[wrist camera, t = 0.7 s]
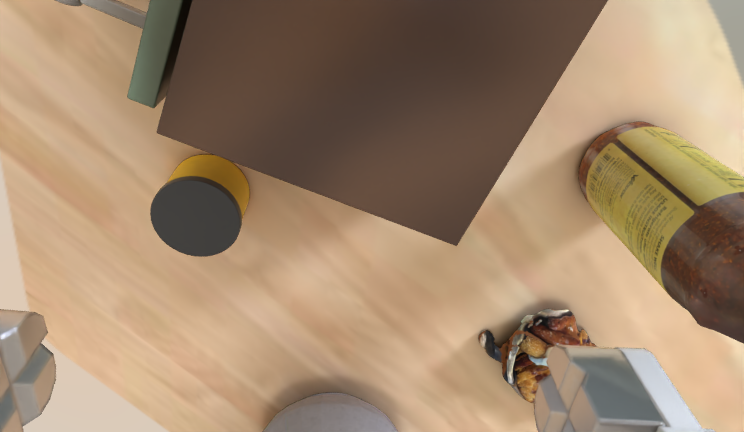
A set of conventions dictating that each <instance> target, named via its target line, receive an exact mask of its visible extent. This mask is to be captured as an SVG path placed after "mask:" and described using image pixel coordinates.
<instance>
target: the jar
mask: <svg viewBox="0 0 744 432" xmlns="http://www.w3.org/2000/svg"><path fill="white" fill-rule="evenodd" d="M249 195H250V192H249V185H248V182H247V180H246V178H245V176H244V175H243V173H242V172H241V171H240V169H239V168H238V167H237V166H236V165H234V164H233V163H232V162H230V161H228V160H226V159H224V158H222V157H219V156H215V155H197V156H193V157H190V158H188V159H186V160H185V161H183V162H182V163H181V164H180V165H179V166H178V167H177V168H176V170H175V171H174V173H173V174H172V176H171V177H170V178H169V180H168V181H167V183H166V184H165V185H164V186H163V187H162V188H161V189H160V190H159V191H158V193H157V194H156V196H155V198H154V199H153V202H152V205H151V213H150V214H151V221H152V224H153V227H154V229H155V231H156V232H157V234H158V235H159V237H160V238H161V239H162V240H163V241H164V242H165V243H166V244H167V245H169V246H170V247H172V248H173V249H175V250H177V251H179V252H181V253H184V254H187V255H192V256H201V257H202V256H212V255H215V254H218V253H221V252H223V251H224V250H226V249H228V248H229V247H230V246H231V245H232V244H233V243H234V242H235V240H236V239H237V237H238V235H239V232H240V229H241V225H242V218H243V215H244V213H245V210H246V207H247V204H248V201H249Z"/></svg>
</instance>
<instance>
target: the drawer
mask: <svg viewBox="0 0 744 432" xmlns="http://www.w3.org/2000/svg"><path fill="white" fill-rule="evenodd" d="M55 1H58V2H60V3H63V4H66V5H71V6H81V5H82V4H85V5H87V6H89V7H92V8H94V9H97V10H99V11H101V12H104V13H106V14H109V15H111V16H113V17H116V18H118V19H121V20H123V21H125V22H128V23H130V24H133V25H135V26H137V27H140V28H142V29H143V32H142V36H141V40H140V45H139V49H138V53H137V57H136V62H135V66H134V70H133V74H132V79H131V83H130V87H129V91H128V95H127V97H128V98H129V99H131V100H134V101H136V102H139V103H141V104H144V105H147V106H149V107H152V108H155V107H156V106H157V105H158V104H159V103H160V102H161V101H162V99H163V98H164V97H165V96H166V95H167V92H168V88H169V84H170V81H171V77H172V73H173V70H174V66H175V62H176V58H177V55H178V51H179V47H180V44H181V40H182V36H183V33H184V29H185V25H186V22H187V18H188V14H189V11H190V7H191V3H192V0H150V2H149V7H148V11H147V13H146V12H143V11H141V10H139V9H136V8H134V7H132V6H129V5H127V4H124V3H122V2H120V1H117V0H55Z"/></svg>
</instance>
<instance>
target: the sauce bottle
mask: <svg viewBox="0 0 744 432" xmlns="http://www.w3.org/2000/svg"><path fill="white" fill-rule="evenodd" d="M579 181H580V186H581V189H582V192H583V194H584V196H585V198H586V200H587V201H588V202H589V203H590V205H591V207H592V209H593V210H594V211H595V213H596V214H597V215H598V216H599V217H600V218H601V219H602V220H603V221H604V223H605V224H606V225H607V226H608V227H609V228H610V229H611V231H612V232H613V233H614V234H615V235H616V236H617V237H618V238H619V239H620V240H621V241H622V243H623V244H624V245H625V246H626V247H627V248H628V249H629V250H630V251H631V253H632V254H633V255H634V256H635V257H636V258H637V259H638V261H639V262H640V263H641V264H642V265H643V266H644V267H645V268H646V270H647V271H648V272H649V273H650V274H651V275H652V276H653V277H654V279H655V280H656V281H657V282H658V283H659V284H660V285H661V286H662V287H663V289H664V290H665V291H666V292H667V293H668V294H669V295H670V296H671V297H672V298H673V299H674V300H675V301H676V302H677V303H679V304H680V305H681V306H682V307H683V308H685V309H686V310H688V311H689V312H690V314H691V315H692V316H693V317H694V319H695V320H696V321H697V323H698V324H699V325H700V326H703V327H706V328H708V329H712V330H715V331H717V332H720V333H722V334H724V335H726V336H728V337H731V338H733V339H735V340H737V341H739V342H741V343H744V177H742V176H741V175H739V174H738V173H736V172H735V171H733V170H731V169H730V168H728V167H727V166H725V165H723V164H722V163H720V162H719V161H717V160H716V159H714V158H712V157H711V156H709V155H708V154H706V153H705V152H703V151H702V150H700V149H699V148H697V147H696V146H694V145H692V144H691V143H689V142H688V141H686V140H685V139H683V138H681V137H680V136H678V135H677V134H676V133H674V132H672V131H669V130H667V129H663V128H659V127H657V126H654V125H651V124H649V123H646V122H634V123H628V124H624V125H622V126H619V127H616V128H613V129H612V130H610V131H607V132H605V133H604V134H601V135H600V136H599V137H598V138H597V139H596V140H595V141H594V142H593V143H592V144H591V146H590V147H589V149H588V150H587V152H586V154H585V156H584V157H583V159H582V161H581V165H580V168H579Z"/></svg>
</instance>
